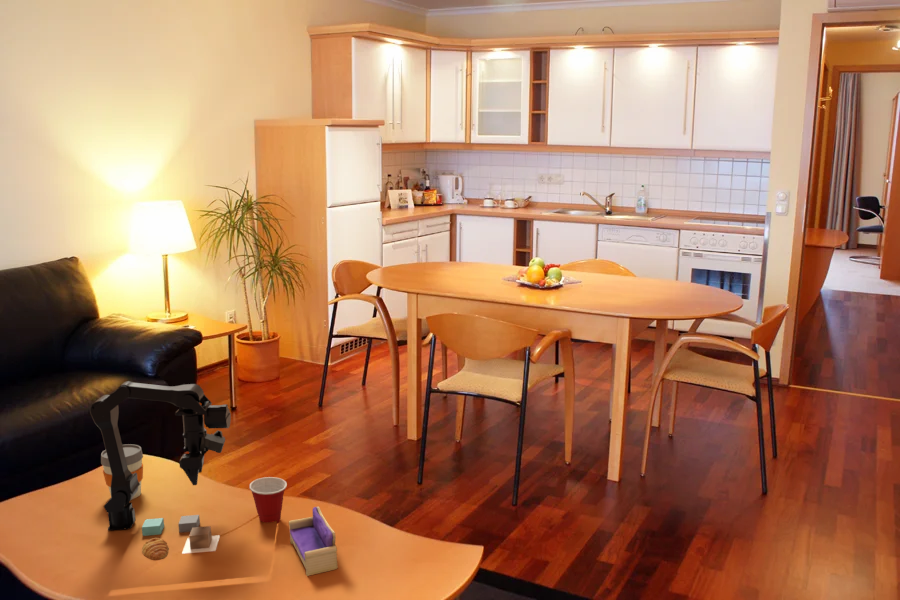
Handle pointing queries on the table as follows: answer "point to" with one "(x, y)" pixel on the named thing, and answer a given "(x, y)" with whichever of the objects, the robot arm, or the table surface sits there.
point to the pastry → (155, 549)
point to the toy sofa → (314, 542)
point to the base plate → (211, 548)
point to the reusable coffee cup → (133, 464)
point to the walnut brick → (200, 537)
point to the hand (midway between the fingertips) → (197, 478)
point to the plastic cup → (268, 497)
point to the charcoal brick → (188, 523)
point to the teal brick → (153, 526)
